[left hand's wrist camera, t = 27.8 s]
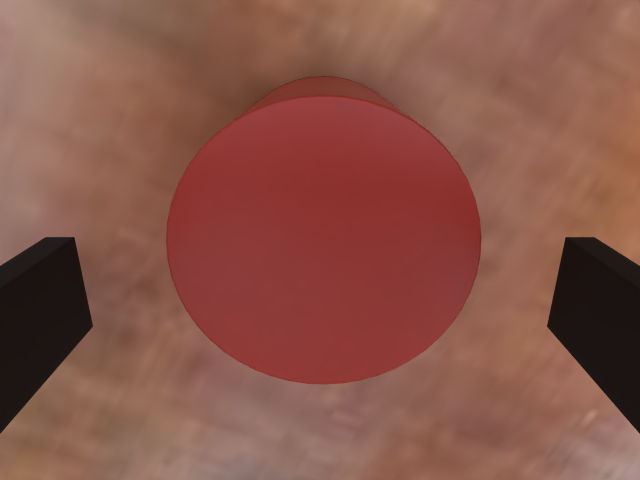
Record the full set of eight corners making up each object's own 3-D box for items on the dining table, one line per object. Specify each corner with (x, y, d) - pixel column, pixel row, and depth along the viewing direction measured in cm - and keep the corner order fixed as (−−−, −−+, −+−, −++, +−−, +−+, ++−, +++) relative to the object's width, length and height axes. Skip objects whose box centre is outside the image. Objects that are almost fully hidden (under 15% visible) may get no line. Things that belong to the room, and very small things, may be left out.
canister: (324, 289, 24) (325, 429, 15) (193, 175, 22) (102, 260, 13) (453, 172, 22) (546, 257, 13) (321, 30, 20) (320, 11, 10)
